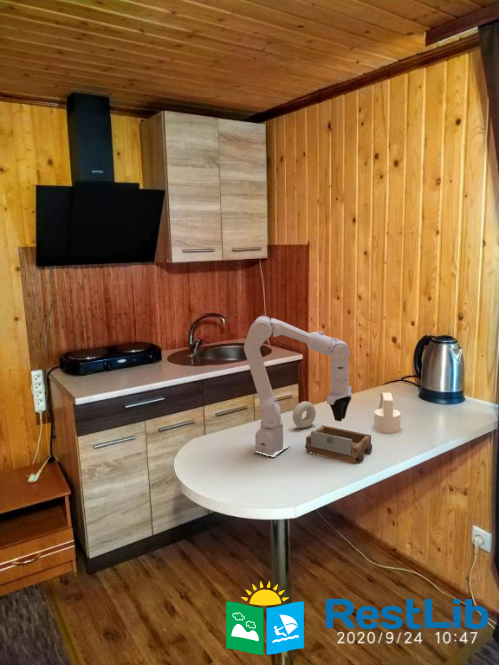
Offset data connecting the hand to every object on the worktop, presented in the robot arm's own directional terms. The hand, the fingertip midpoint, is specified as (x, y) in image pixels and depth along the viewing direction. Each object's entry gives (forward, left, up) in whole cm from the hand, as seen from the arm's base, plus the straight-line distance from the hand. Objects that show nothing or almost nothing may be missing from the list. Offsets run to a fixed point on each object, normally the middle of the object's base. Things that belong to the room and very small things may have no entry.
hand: (339, 419), depth 154 cm
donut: (+11, +19, -11) cm, 24 cm away
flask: (+33, -3, -11) cm, 35 cm away
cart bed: (-1, 0, -10) cm, 10 cm away
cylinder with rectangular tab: (+25, -7, -11) cm, 28 cm away
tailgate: (-7, 0, -8) cm, 11 cm away
